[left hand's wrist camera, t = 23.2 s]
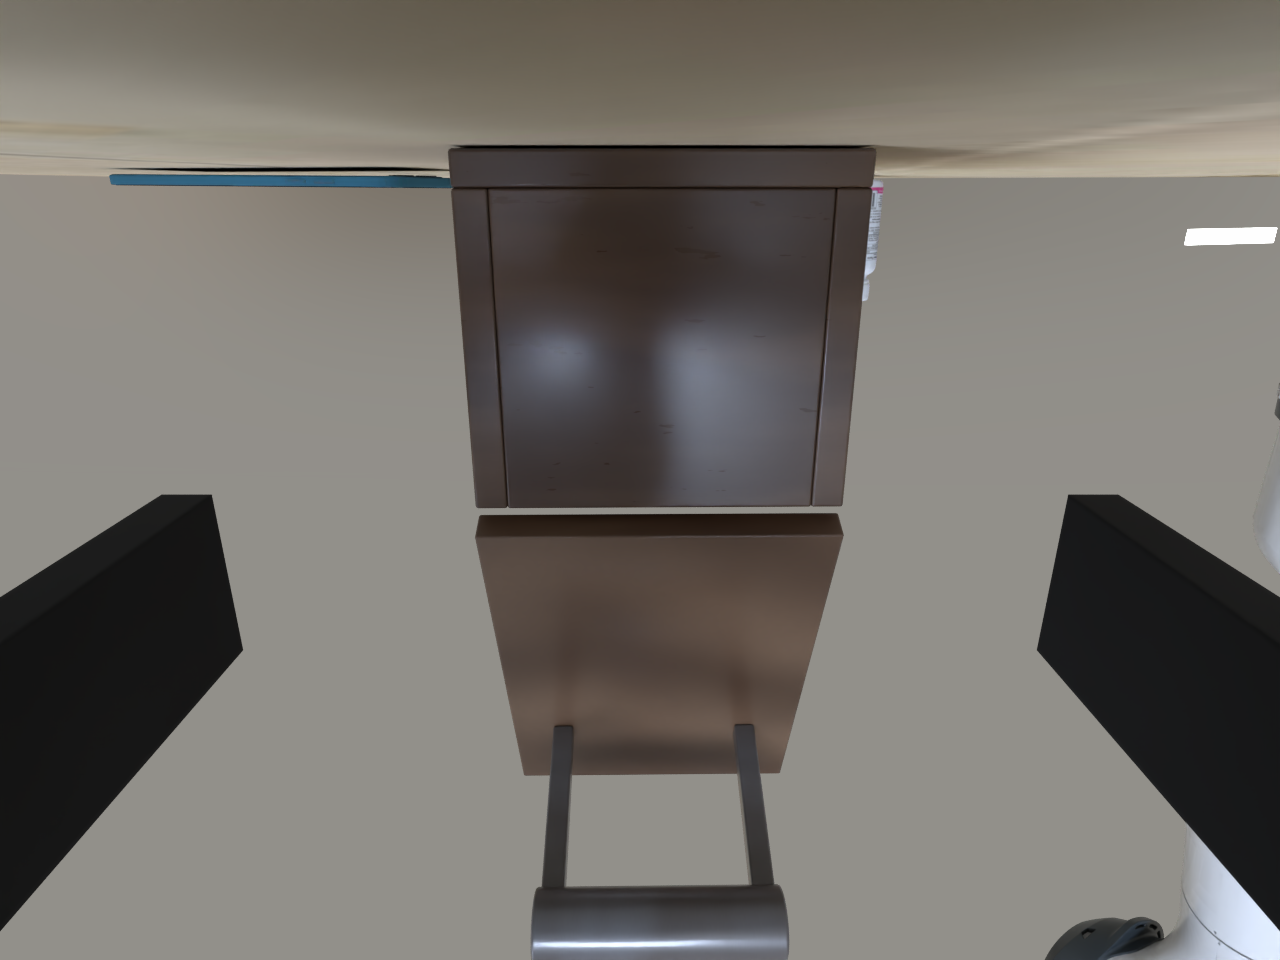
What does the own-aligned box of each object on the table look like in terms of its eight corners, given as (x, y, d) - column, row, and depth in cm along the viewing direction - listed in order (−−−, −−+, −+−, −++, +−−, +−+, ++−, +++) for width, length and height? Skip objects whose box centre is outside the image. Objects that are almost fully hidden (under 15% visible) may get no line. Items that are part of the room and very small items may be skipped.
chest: (778, 164, 30) (765, 391, 33) (520, 164, 30) (531, 392, 33) (877, 148, 18) (842, 506, 21) (446, 147, 18) (475, 508, 21)
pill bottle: (833, 180, 60) (825, 293, 62) (804, 179, 56) (796, 299, 59) (895, 179, 57) (882, 298, 60) (868, 178, 53) (856, 305, 56)
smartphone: (98, 184, 37) (396, 187, 35) (95, 171, 37) (395, 173, 34) (209, 186, 44) (463, 188, 42) (207, 174, 44) (462, 176, 42)
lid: (776, 752, 31) (812, 994, 25) (525, 755, 31) (501, 998, 25) (838, 512, 22) (918, 806, 16) (479, 514, 22) (421, 811, 16)
